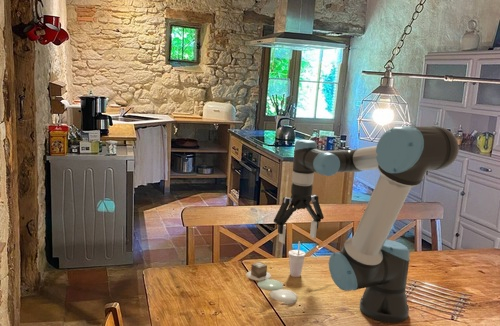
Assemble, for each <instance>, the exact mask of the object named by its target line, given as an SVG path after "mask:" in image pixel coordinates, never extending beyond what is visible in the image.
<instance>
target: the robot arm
mask: <svg viewBox="0 0 500 326" xmlns="http://www.w3.org/2000/svg"><path fill="white" fill-rule="evenodd" d="M459 148H460V147H459V143H458V140H457V137H456V136H455V135H454V134H453V133H452V131H450V130H448V129H447V128H444V127H441V126H413V125H401V126H395V127H392V128H389V129H388V130H386V131H384V133H382V135H381V137H380V138H379V139H378V141H377V144H376V145H372V146H367V147H360V148H356V149H348V150H347V149H346V150H321V149H318V148H317V142H316V141H315V140H311V139H297V140H296V141H295V143H294V150H293V160H292V161H293V163H292V174H291V175H292V176H291V178H292V179H291V182H292V183H291V188H290V189H291V190H290V193H291V196H290V197H286V196H284V197H282V203H281V204H280V207H279V209H278V211H277V213H276V215H275V217H274V219H273V223H275V224H276V225H277V233H278V242H280V243H281V244H285V241H286V232H287V231H286V230H287V225H285V224H286V223H287V222H288V220H289V219H290V218H291V216H292V215H293V214H294V212H296V211H298V210H299V211H300V210H306V211H307V212H308V213H309V215H310V216H311V218H312V219H311V220H310V221H311V222H310V232H309V237H310V238H312V239H313V240H316V238H317V230H318V229H319V223H320V222H321V221H322V220H324V218H325V216H324V214H323V211H322V208H321V205H320V202H319V196H318V195H316V194H313V187H314V186H313V183H314V177H315V176H314V175H315V173H317V174H319V175H322V176H326V177H332V176H334V175H336V174H337V173H339V174H340V173H357V172H358V173H359V172H363V171H371V170H378V172H379V173H380V175H379V178H378V180H377V182H376V184H375V187H374V188H373V191H372V193H371V196H370V198H369V200H368V203H367V205H366V207H365V209H364V212H363V214H362V215H361V218H360V221H359V223H358V226H357V227H356V230H355V232H354V234H353V236H352V237H349V238H347V239H346V240H345V242H344V244H343V245H342V249H340V250H341V251H335V252H333V253H332V254H330V257H329V259H328V269H329V270H328V271H329V274H330V277H331V279H332V280H333V283H334V284H335V286H336V287H338V288H339V289H340V290H341V291H344V292H349V291H352V292H353V291H356V290H361V289H365V290H364V292H363V294H362V296H361V297H360V300H359V310H360V311H361V312H362V313H363V314H364V315H365V316H367V317H368V318H371V319H373V320H376V321H379V322H383V323H389V324H390V323H394V324H395V323H402V322H404V321H406V320H407V319H408V318H409V314H410V313H409V312H410V311H409V310H410V307H409V304H408V299H407V294H406V289H407V288H406V287H407V281H408V273H409V272H408V271H409V265H410V261H411V260H410V255H411V254H410V253H411V252H410V249H409V247H407V246H406V245H404V244H403V243H401V242H398V241H394V240H391V239H388V237H389V234H390V233H391V230H392V229H393V227H394V225H395V223H396V220H397V218H398V216H399V214H400V212H401V209H402V207H403V206H404V204H405V201H406V199H407V198H408V196H409V193H410V191H411V189H412V188H413V187H417V186H419V185H420V184H421V183H422V181H423V179H424V177H425V174H426V172H428V171H429V172H430V171H439V170H443V169H446V168H448V167H449V166H450V165H452V164H453V163H454V162H455V161H456V159H457V157H458V154H459ZM311 203H312V205H313V206H312V205H311Z"/></svg>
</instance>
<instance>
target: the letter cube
mask: <svg viewBox="0 0 500 326" xmlns="http://www.w3.org/2000/svg"><path fill="white" fill-rule="evenodd" d="M250 266H251V268H250V269H251V270H250V271H251V275H253V276H255V277H257V278H261V277H264V276H266V275H267V272H268V265H267V264H266V263H263V262H261V261H258V262H253V263H252V264H251V265H250Z"/></svg>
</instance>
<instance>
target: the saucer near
mask: <svg viewBox="0 0 500 326" xmlns="http://www.w3.org/2000/svg"><path fill="white" fill-rule="evenodd" d="M269 296H270V297H271V299H272V300H275V301H278V302H282V303H279V305H280V306H291V305H294V304H296V302H297V301H298V300H297V299H298V295H297V294H296V293H295V292H294V291H293V290H289V289H284V288H282V289H278V290H275V291H270V293H269Z"/></svg>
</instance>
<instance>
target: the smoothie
mask: <svg viewBox="0 0 500 326" xmlns="http://www.w3.org/2000/svg"><path fill="white" fill-rule="evenodd" d="M297 246H298V247H297V249H291V250H289V251H288V253H287V255H288V261H289V275H290V276H291V277H293V278H299V277H301V275H302V271H303V266H304V261H305V258H306V255H307V254H306V252H305V251H304V250H301V249H300V248H301V241H298V244H297Z"/></svg>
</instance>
